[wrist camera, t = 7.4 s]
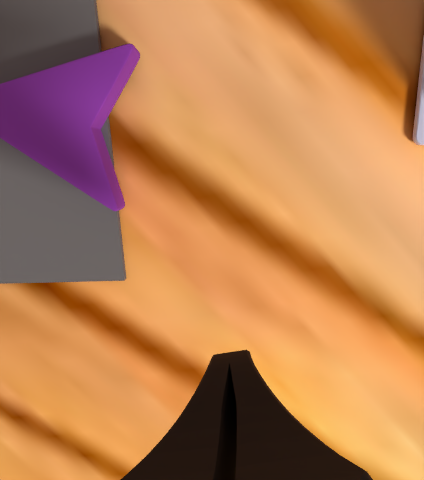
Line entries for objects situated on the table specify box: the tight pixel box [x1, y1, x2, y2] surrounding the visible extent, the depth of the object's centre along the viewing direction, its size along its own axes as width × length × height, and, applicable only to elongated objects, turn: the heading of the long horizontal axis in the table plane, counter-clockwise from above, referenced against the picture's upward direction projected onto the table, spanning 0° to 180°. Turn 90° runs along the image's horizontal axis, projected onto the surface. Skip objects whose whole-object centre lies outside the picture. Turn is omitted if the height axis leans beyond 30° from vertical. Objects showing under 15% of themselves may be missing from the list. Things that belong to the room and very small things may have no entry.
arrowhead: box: [0, 44, 140, 211], centre depth 19 cm, size 10×2×10 cm
